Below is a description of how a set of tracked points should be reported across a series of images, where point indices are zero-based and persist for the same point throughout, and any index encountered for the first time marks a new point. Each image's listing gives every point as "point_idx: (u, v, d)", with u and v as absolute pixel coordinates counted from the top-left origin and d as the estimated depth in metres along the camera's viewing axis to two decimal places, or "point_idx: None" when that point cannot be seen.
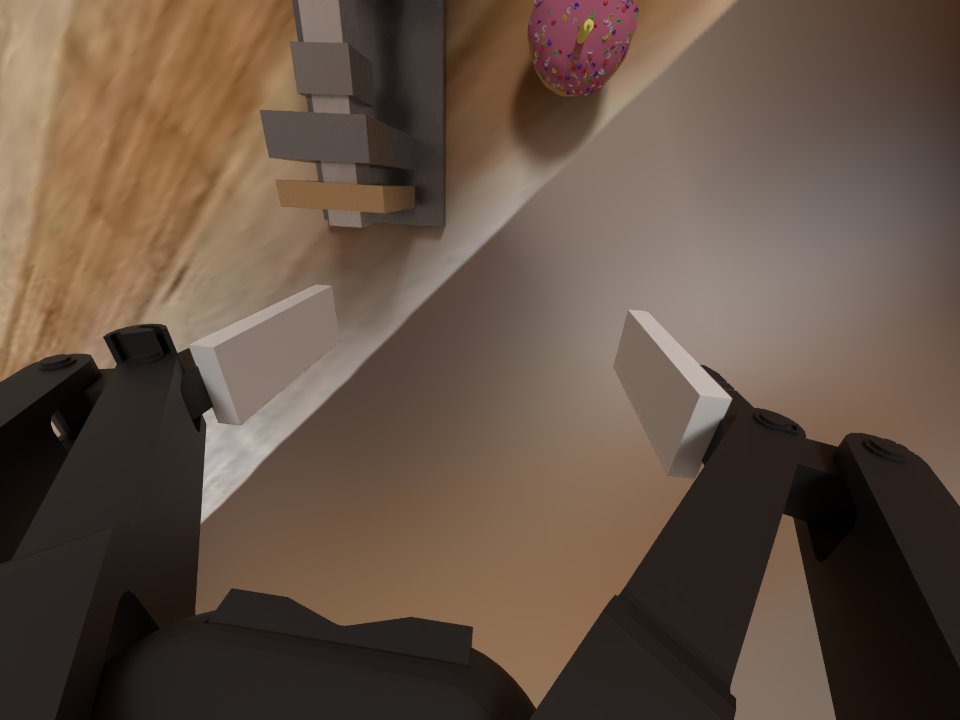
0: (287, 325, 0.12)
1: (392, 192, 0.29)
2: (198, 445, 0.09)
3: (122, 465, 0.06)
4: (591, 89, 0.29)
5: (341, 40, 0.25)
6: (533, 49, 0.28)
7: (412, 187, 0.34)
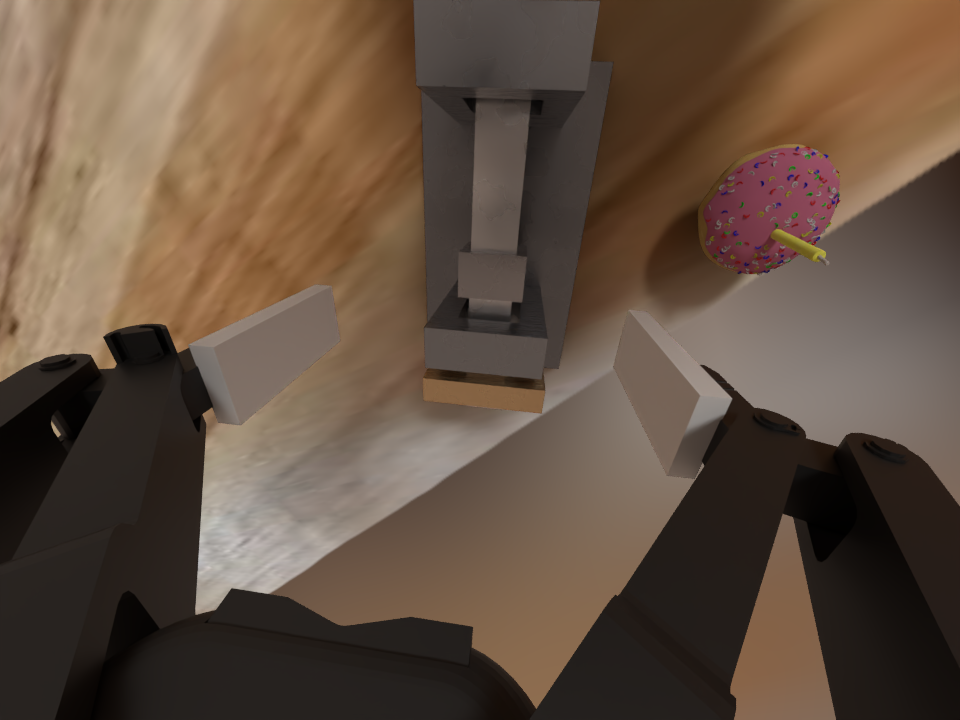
0: (287, 325, 0.12)
1: None
2: (198, 445, 0.09)
3: (122, 465, 0.06)
4: None
5: (515, 248, 0.22)
6: (709, 233, 0.25)
7: None
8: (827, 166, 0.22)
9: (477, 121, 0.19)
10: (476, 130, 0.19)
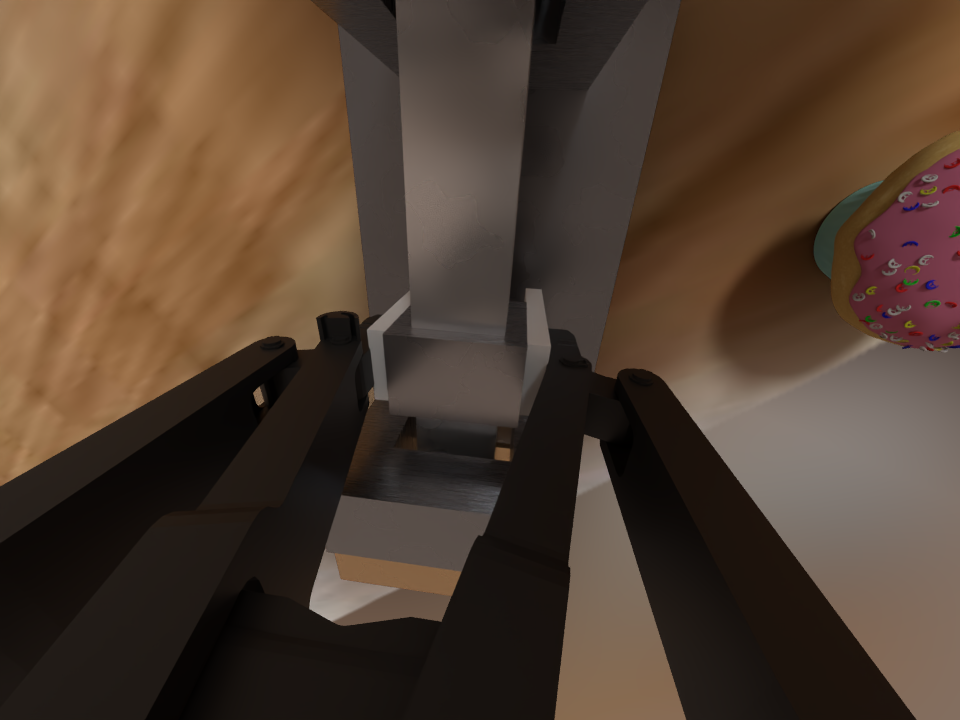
0: None
1: None
2: (357, 424, 0.10)
3: (292, 439, 0.06)
4: None
5: (503, 325, 0.10)
6: (865, 280, 0.13)
7: None
8: None
9: (402, 35, 0.08)
10: (402, 60, 0.08)
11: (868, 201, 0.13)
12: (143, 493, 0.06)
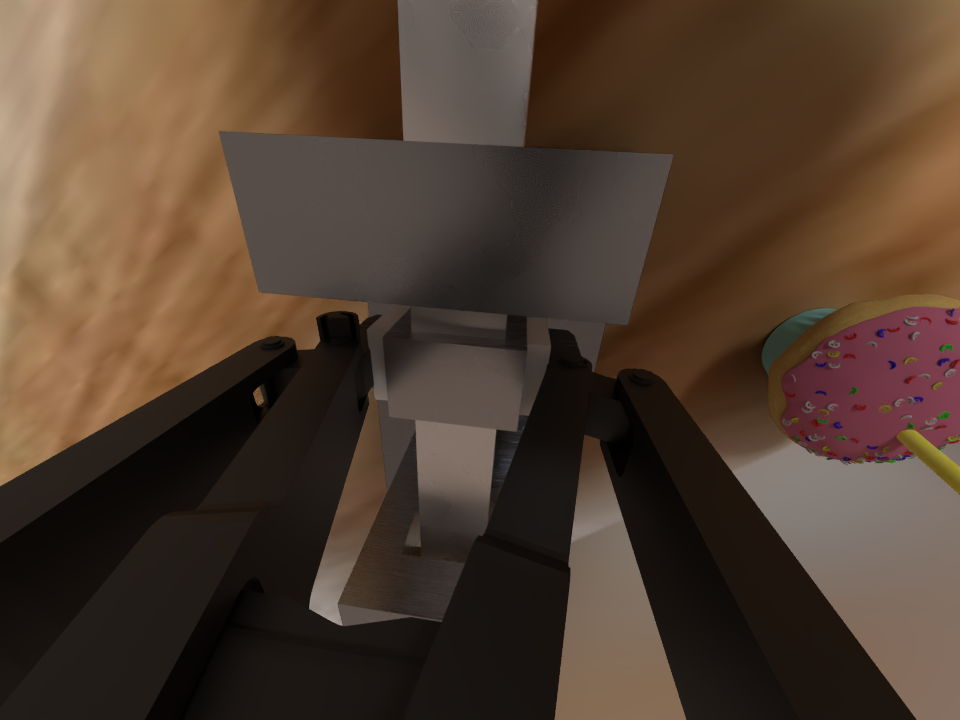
0: None
1: None
2: (357, 424, 0.10)
3: (292, 439, 0.06)
4: None
5: (503, 328, 0.10)
6: (789, 411, 0.16)
7: None
8: None
9: (404, 40, 0.08)
10: (404, 64, 0.08)
11: (792, 347, 0.16)
12: (143, 493, 0.06)
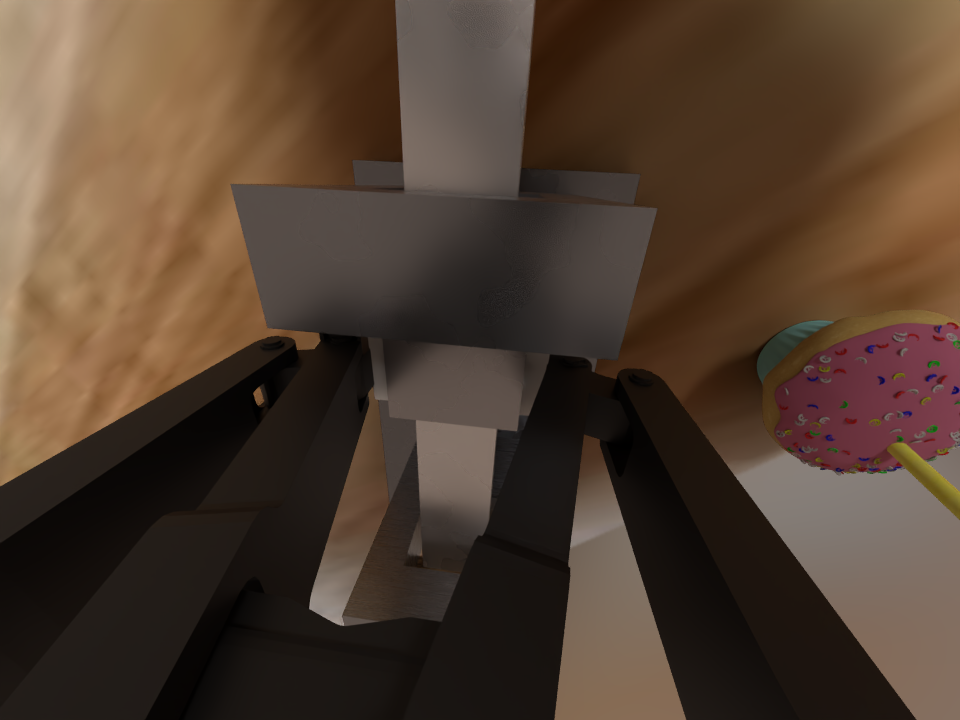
0: None
1: None
2: (357, 424, 0.10)
3: (292, 439, 0.06)
4: None
5: None
6: (783, 424, 0.17)
7: None
8: None
9: (402, 40, 0.08)
10: (402, 64, 0.08)
11: (785, 361, 0.16)
12: (143, 493, 0.06)
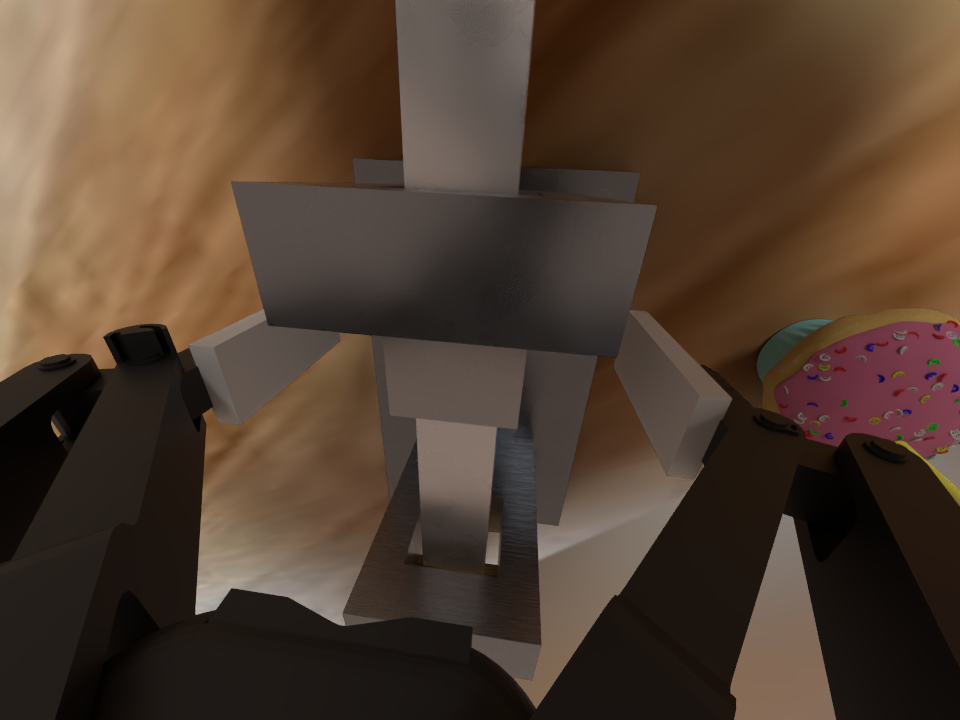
0: None
1: None
2: (198, 445, 0.09)
3: (122, 465, 0.06)
4: None
5: None
6: None
7: None
8: None
9: (402, 38, 0.08)
10: (402, 62, 0.08)
11: (785, 359, 0.17)
12: None
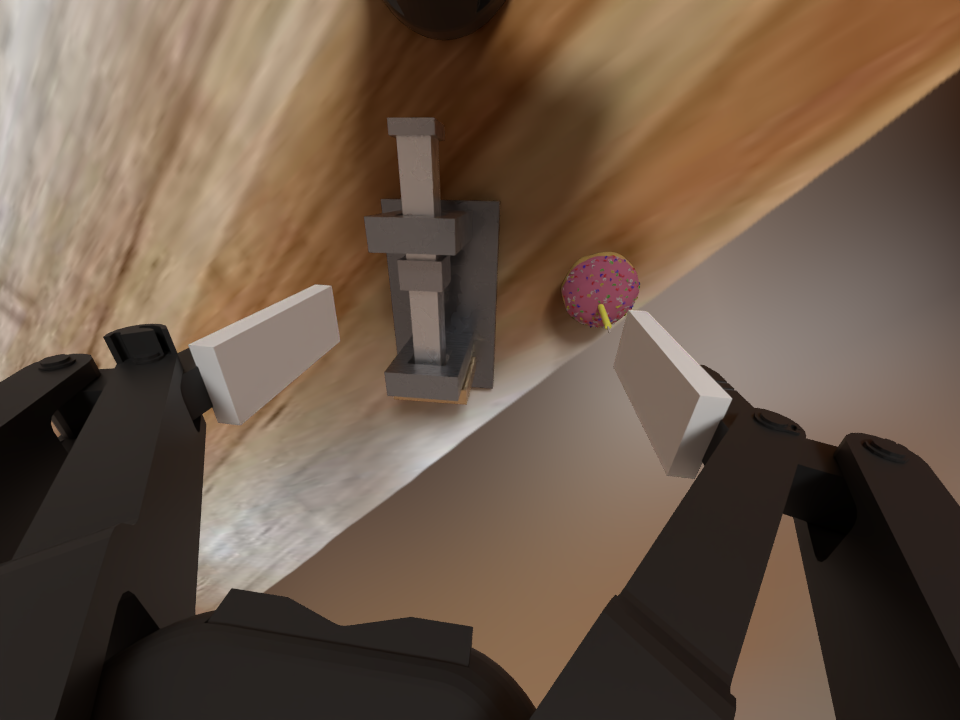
0: (287, 326, 0.12)
1: (468, 384, 0.42)
2: (198, 445, 0.09)
3: (122, 465, 0.06)
4: None
5: (435, 256, 0.33)
6: (566, 304, 0.39)
7: (475, 359, 0.47)
8: (624, 267, 0.36)
9: (401, 178, 0.31)
10: (401, 183, 0.31)
11: (565, 277, 0.39)
12: None
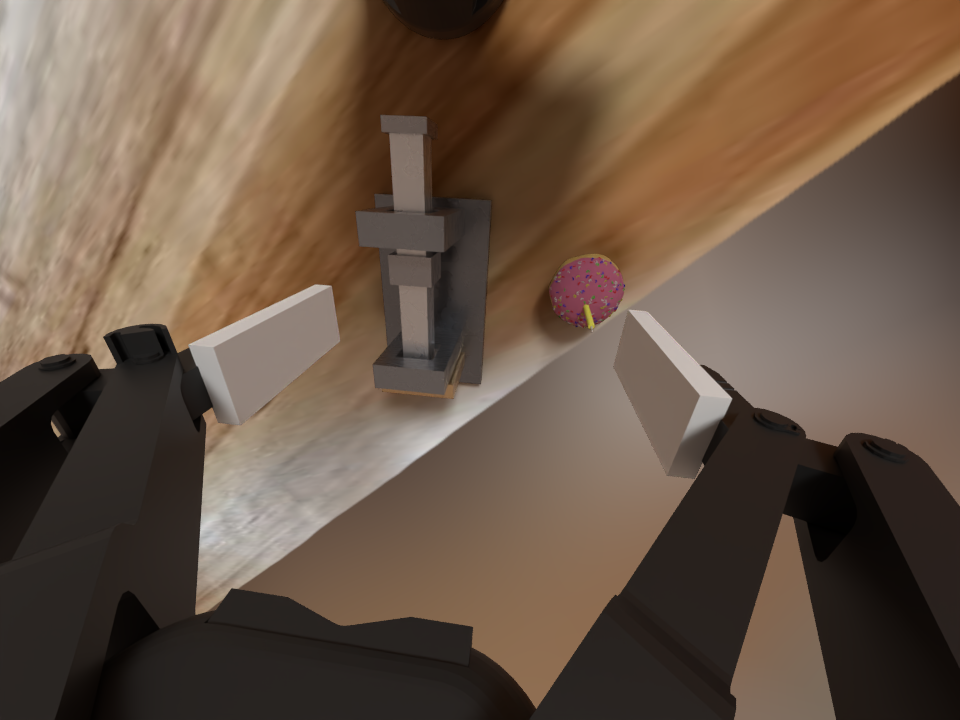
0: (287, 325, 0.12)
1: (456, 379, 0.43)
2: (198, 445, 0.09)
3: (122, 465, 0.06)
4: None
5: (425, 252, 0.34)
6: (552, 303, 0.40)
7: (463, 355, 0.48)
8: (610, 269, 0.37)
9: (393, 175, 0.31)
10: (393, 180, 0.31)
11: (553, 277, 0.40)
12: None
